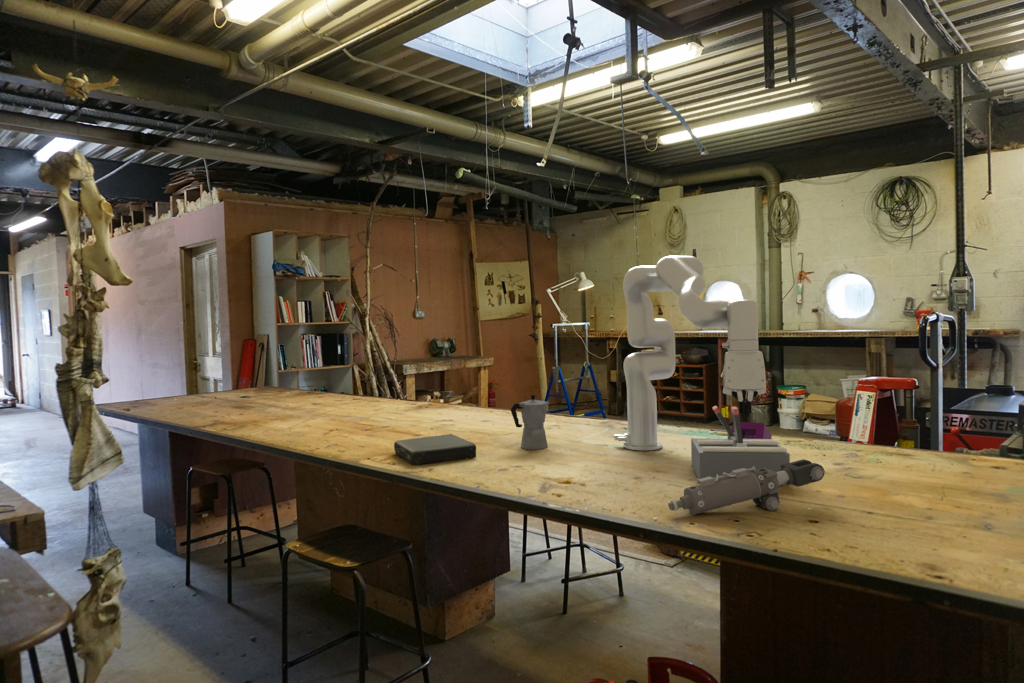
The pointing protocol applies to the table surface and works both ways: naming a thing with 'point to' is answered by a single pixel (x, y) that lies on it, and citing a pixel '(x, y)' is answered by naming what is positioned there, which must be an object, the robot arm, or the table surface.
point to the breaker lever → (737, 425)
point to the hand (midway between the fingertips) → (744, 416)
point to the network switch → (434, 449)
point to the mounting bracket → (754, 431)
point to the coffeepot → (532, 423)
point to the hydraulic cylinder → (747, 487)
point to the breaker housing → (735, 453)
